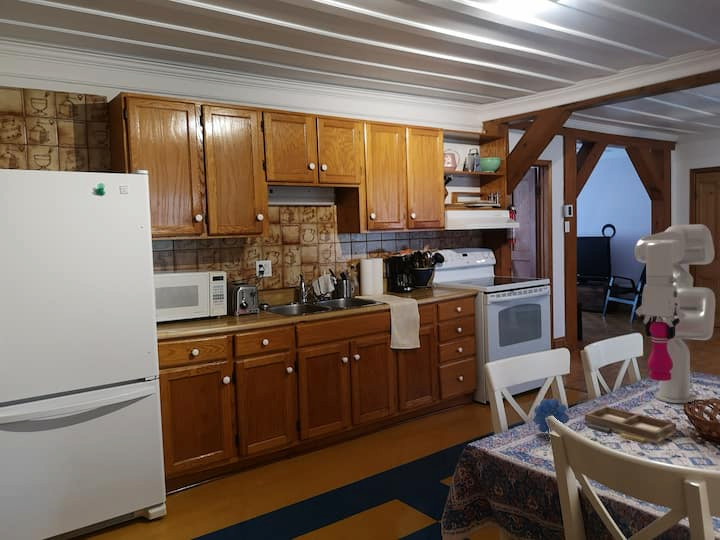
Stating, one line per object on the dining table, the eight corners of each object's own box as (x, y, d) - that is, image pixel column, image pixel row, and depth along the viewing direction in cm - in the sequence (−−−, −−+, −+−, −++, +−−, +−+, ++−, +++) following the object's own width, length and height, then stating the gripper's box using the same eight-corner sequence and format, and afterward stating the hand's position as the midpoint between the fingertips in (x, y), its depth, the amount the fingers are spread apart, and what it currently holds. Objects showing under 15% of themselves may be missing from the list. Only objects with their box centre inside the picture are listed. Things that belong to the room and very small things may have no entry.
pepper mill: (672, 382, 177) (672, 319, 175) (646, 380, 181) (646, 318, 179) (673, 376, 183) (673, 315, 182) (648, 374, 187) (648, 314, 185)
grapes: (575, 435, 174) (575, 397, 173) (565, 442, 170) (564, 403, 169) (541, 427, 183) (540, 390, 182) (530, 433, 178) (529, 395, 177)
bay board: (605, 414, 191) (605, 405, 191) (676, 433, 173) (676, 423, 172) (580, 425, 183) (580, 416, 183) (651, 445, 164) (651, 435, 164)
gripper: (694, 281, 175) (694, 338, 176) (639, 278, 189) (639, 331, 190) (682, 284, 170) (682, 343, 172) (626, 280, 184) (627, 335, 186)
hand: (660, 336), depth 181 cm, fingers closed on pepper mill, 6 cm apart
